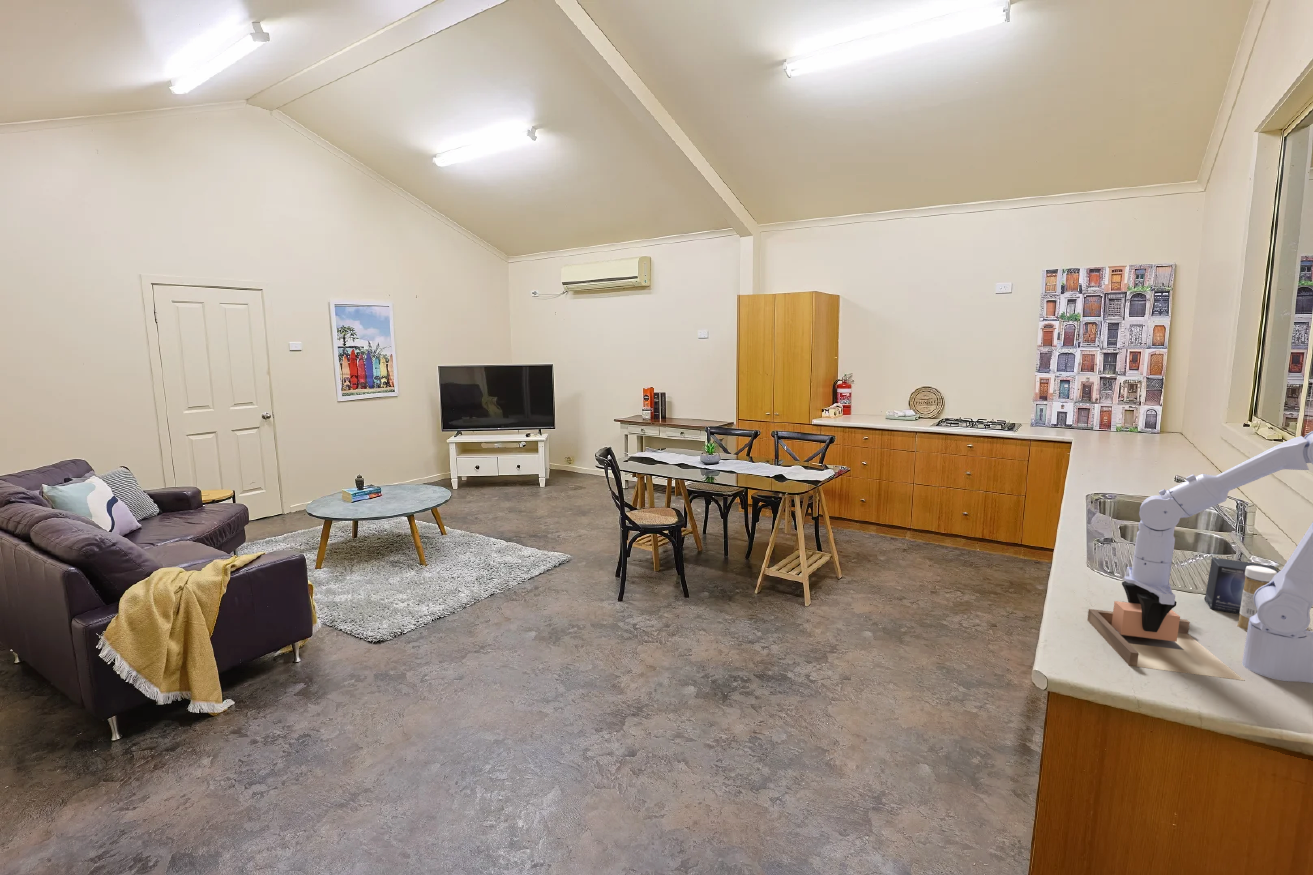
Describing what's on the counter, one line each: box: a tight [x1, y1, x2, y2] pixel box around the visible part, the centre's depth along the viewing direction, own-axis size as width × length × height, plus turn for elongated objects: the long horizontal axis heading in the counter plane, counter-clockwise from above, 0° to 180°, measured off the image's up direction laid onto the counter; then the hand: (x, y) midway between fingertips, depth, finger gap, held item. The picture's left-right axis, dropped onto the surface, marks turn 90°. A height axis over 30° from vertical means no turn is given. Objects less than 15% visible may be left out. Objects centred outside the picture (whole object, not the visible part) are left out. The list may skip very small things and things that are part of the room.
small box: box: [1204, 557, 1280, 615], centre depth 136 cm, size 11×6×10 cm, turn 60°
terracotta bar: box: [1112, 600, 1181, 642], centre depth 120 cm, size 9×4×5 cm, turn 73°
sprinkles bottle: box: [1236, 566, 1277, 633], centre depth 125 cm, size 5×5×13 cm
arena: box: [1087, 608, 1245, 681], centre depth 117 cm, size 17×19×4 cm
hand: (1143, 625), depth 120 cm, fingers closed on terracotta bar, 4 cm apart
